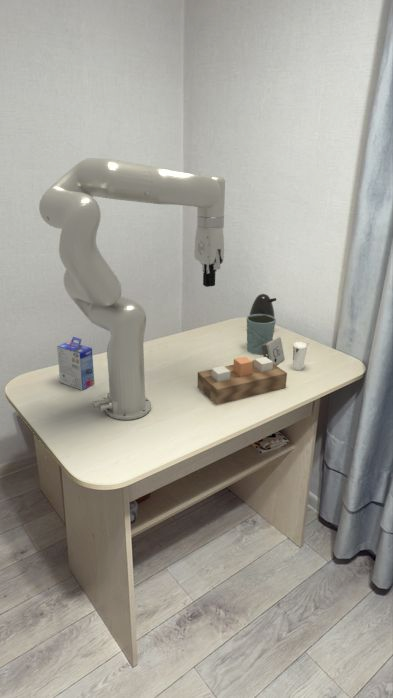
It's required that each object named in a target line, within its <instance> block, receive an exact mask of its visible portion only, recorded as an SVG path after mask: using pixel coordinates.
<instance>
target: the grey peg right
mask: <svg viewBox="0 0 393 698" xmlns="http://www.w3.org/2000/svg"><path fill="white" fill-rule="evenodd" d="M254 360H255V362H254V368H256V369H257V370H259V371H260V372H265V371H270V370H272V369H273V361H271V360H270V359H268V358H267V357H259V358H255V359H254Z"/></svg>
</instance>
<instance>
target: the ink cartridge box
mask: <svg viewBox="0 0 393 698" xmlns="http://www.w3.org/2000/svg"><path fill="white" fill-rule="evenodd" d="M74 341H77V342H78V343H77V342H74ZM56 350H57V361H58V362H57V363H58V373H59V382H60V383H61V384H64V385H68V386H70V387H72V388H76V389H78V390H82V391H83V390H85V389H87V388H89V387H92V386H94V385H95V372H94V358H93V347H90V346H87V345H84V344H82V338H79V337H75V336H72V339H71V340H70V341H67V342H63V343H62V344H60V345H57V346H56Z"/></svg>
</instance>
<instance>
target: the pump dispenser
mask: <svg viewBox="0 0 393 698" xmlns="http://www.w3.org/2000/svg"><path fill="white" fill-rule="evenodd" d="M276 301H277V297H276V298H275V297H274V298H270V296H269V295H268V294H265V293H260V294H258V295H257V296H256V298H255V299H254V300H253V303H252V305H251V307H250V311H249V315H253V314H265V315H270V316H273V317H274V318H275V319H276V317H275V310H274V309H275V308H274V305H273V302H276Z"/></svg>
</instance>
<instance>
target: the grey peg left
mask: <svg viewBox="0 0 393 698" xmlns="http://www.w3.org/2000/svg"><path fill="white" fill-rule="evenodd" d="M211 369H212V371H211V377H212V378H213V379H214V380H215V381H217V382H221V381H226V380H230V371H229V370H228V369H227V368H225V367H224V365H222V366H221V365H220V366H218V367H217V366H216V367H212V368H211Z"/></svg>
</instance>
